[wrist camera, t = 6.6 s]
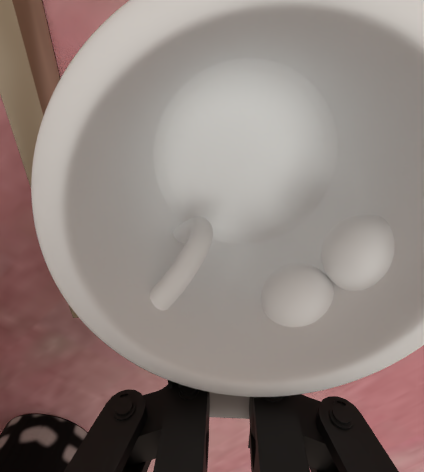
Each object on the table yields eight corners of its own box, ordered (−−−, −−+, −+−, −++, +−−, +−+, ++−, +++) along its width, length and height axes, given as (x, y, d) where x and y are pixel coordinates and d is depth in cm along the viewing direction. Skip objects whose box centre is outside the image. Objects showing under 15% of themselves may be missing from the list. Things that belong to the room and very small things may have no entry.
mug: (219, 300, 18) (213, 471, 10) (80, 190, 15) (-86, 310, 7) (393, 166, 14) (626, 279, 6) (247, -26, 11) (312, -360, 3)
